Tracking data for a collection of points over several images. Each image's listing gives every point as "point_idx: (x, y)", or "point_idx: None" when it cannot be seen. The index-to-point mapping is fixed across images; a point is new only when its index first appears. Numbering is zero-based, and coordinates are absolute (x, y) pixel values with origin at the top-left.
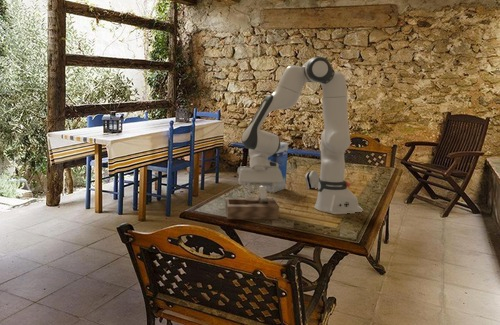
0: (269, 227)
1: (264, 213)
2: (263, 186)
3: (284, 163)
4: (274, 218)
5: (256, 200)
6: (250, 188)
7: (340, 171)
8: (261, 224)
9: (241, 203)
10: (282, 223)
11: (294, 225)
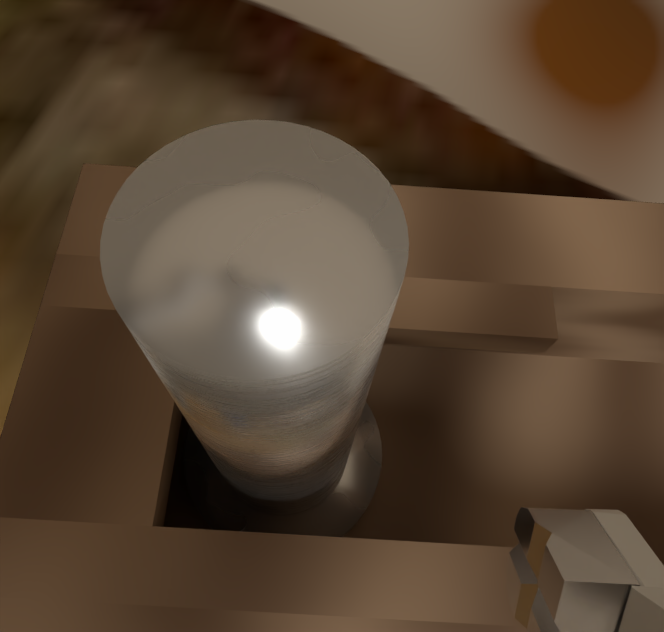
0: (309, 73)
1: None
2: (267, 164)
3: None
4: None
5: (373, 542)
6: (644, 569)
7: None
8: (366, 140)
9: None
10: (144, 149)
11: (49, 95)
